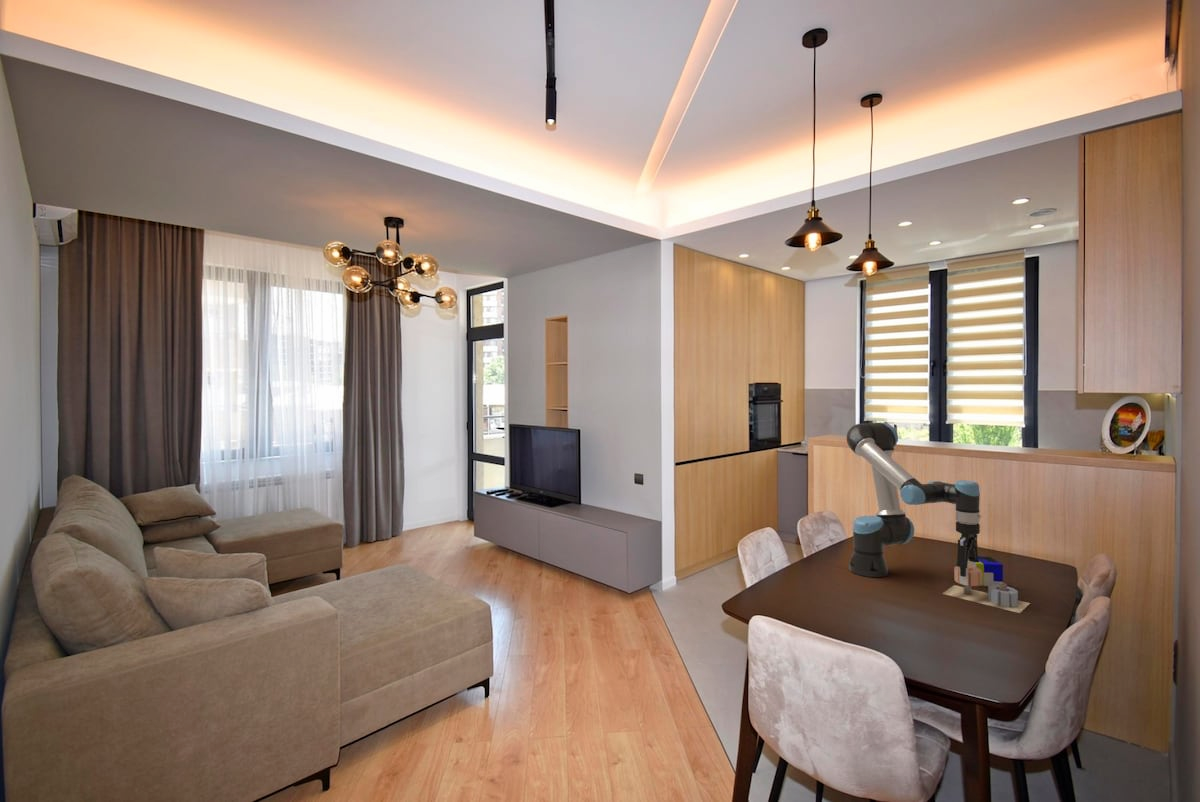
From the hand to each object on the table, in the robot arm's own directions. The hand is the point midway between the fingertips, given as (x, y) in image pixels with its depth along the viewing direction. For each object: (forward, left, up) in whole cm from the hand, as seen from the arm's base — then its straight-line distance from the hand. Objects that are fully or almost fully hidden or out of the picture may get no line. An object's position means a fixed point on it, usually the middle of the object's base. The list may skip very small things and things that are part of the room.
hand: (968, 581), depth 204 cm
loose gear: (0, 0, 0) cm, 0 cm away
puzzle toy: (-1, +19, -6) cm, 20 cm away
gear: (+11, 0, -5) cm, 12 cm away
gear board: (+5, 0, -6) cm, 8 cm away
